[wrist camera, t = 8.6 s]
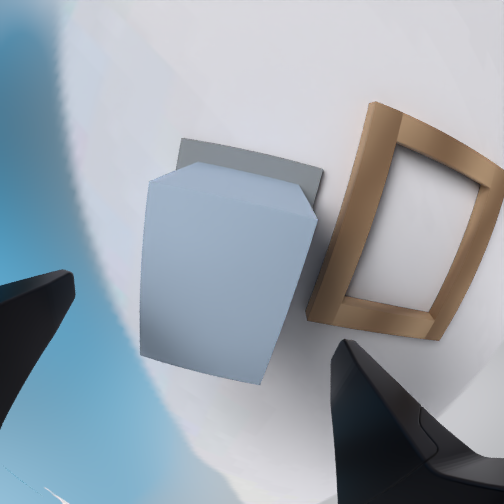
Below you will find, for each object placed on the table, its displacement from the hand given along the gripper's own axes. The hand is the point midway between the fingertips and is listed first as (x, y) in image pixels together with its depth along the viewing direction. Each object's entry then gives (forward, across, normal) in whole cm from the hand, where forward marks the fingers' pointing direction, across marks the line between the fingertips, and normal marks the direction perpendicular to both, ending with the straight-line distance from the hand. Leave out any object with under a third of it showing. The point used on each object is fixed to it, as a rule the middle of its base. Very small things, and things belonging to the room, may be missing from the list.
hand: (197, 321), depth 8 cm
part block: (+7, 0, 0) cm, 7 cm away
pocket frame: (+7, -10, -3) cm, 13 cm away
